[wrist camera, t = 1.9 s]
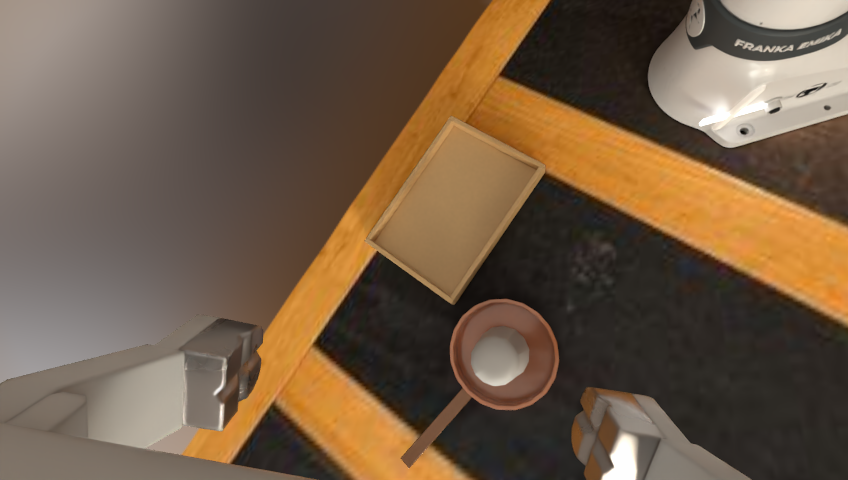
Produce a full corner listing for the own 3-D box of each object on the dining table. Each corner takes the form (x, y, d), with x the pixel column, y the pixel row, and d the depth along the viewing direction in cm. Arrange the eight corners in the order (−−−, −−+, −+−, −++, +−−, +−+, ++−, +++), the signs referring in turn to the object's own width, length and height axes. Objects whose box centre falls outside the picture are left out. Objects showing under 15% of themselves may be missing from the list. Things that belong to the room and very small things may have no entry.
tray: (454, 123, 54) (450, 115, 52) (545, 172, 49) (545, 165, 47) (370, 244, 53) (364, 240, 51) (454, 304, 49) (451, 303, 46)
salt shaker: (480, 323, 47) (462, 323, 35) (530, 327, 45) (529, 329, 33) (478, 374, 46) (458, 392, 34) (528, 380, 44) (527, 402, 32)
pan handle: (465, 384, 44) (464, 385, 44) (475, 393, 44) (474, 395, 43) (402, 455, 45) (400, 458, 44) (411, 465, 44) (409, 468, 43)
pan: (551, 298, 46) (552, 296, 43) (562, 405, 43) (564, 410, 40) (452, 303, 49) (447, 301, 46) (457, 403, 46) (452, 409, 43)
